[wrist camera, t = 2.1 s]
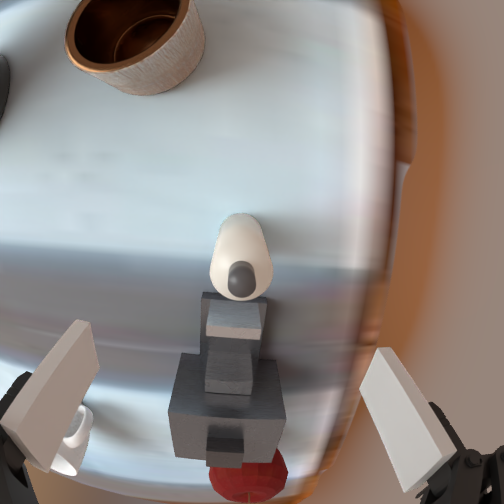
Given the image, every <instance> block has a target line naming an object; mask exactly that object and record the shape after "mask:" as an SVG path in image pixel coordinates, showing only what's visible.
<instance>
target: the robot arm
mask: <svg viewBox="0 0 504 504" xmlns="http://www.w3.org/2000/svg"><path fill="white" fill-rule="evenodd" d="M9 82H10V73H9V66H8V63H7V61H6V59H5V58H4V57H3V56H1V55H0V119H1V117H2V114H3V111H4V108H5V104H6V100H7V96H8V90H9ZM99 368H100V367H99V363H98V359H97V355H96V350H95V346H94V341H93V336H92V331H91V325H90V322H86V321H82V320H77V319H76V320H75V321H74V322H73V324H72V325H71V326H70V327H69V328H68V330H67V331H66V332H65V333H64V334H63V336H62V337H61V338H60V339H59V341H58V342H57V343H56V344H55V345H54V347H53V348H52V349H51V351H50V352H49V353H48V354H47V356H46V357H45V358H44V359H43V361H42V362H41V363H40V365H39V366H38V367H37V369H36V370H35V371H34V373H33V374H32V373H30V372H28V371H26V372H25V373H23V374H22V375H20V376H19V377H17V379H16V380H15V381H14V383H13V384H12V385H11V387H10V388H9V390H8V391H7V394H5V395H4V396H3V398H2V399H1V401H0V504H39V503H38V501H37V498H36V495H35V493H34V490H33V487H32V484H31V482H30V478H29V475H28V472H27V469H26V466H25V464H24V460H25V459H27V460H28V461H29V462H30V463H31V465H33V466H34V467H37V468H38V469H41V470H42V471H45V472H47V473H48V472H49V470H50V467H51V465H52V463H53V460H54V458H55V456H56V454H57V451H58V449H59V447H60V445H61V443H62V440H63V438H64V436H65V434H66V432H67V430H68V428H69V426H70V424H71V422H72V420H73V418H74V416H75V414H76V412H77V410H78V408H79V406H80V404H81V402H82V400H83V398H84V396H85V394H86V392H87V390H88V388H89V387H90V385H91V383H92V381H93V379H94V377H95V375H96V374H97V372H98V370H99ZM359 390H360V392H361V394H362V396H363V398H364V401H365V403H366V405H367V408H368V410H369V412H370V414H371V416H372V419H373V421H374V423H375V425H376V428H377V430H378V432H379V434H380V437H381V439H382V441H383V444H384V446H385V448H386V451H387V453H388V455H389V458H390V460H391V462H392V465H393V467H394V470H395V472H396V474H397V477H398V479H399V482H400V484H401V487H402V489H403V492H404V493H405V492H408V491H411V490H414V489H416V488H418V487H420V486H421V485H422V484H423V483H424V482H426V481H427V482H428V484H429V485H428V486H427V487H426V488H424V489H423V490H422V491H421V492H420V493H418V494H417V496H416V498H419V497H420V496H421V495H422V494H423V497H422V498H421V502H420V504H504V445H503V446H500V447H499V448H498V449H497V450H496V451H495V452H494V453H493V454H486V455H481V454H480V453H479V452H478V451H476V450H474V449H468V450H467V449H466V448H465V447H464V445H463V443H462V442H461V440H460V438H459V437H458V435H457V434H456V432H455V430H454V429H453V427H452V426H451V425H450V423H449V421H448V420H447V419H446V416H445V415H444V413H443V412H442V410H441V409H440V408H439V407H438V406H437V405H436V404H434V403H433V402H429V403H428V402H427V401H426V399H425V398H424V396H423V394H422V393H421V391H420V390H419V388H418V387H417V385H416V384H415V382H414V381H413V379H412V378H411V376H410V375H409V373H408V372H407V370H406V369H405V367H404V366H403V364H401V362H400V360H399V359H398V357H397V356H396V354H395V353H394V351H393V350H392V349H391V347H383V348H377V350H376V352H375V355H374V357H373V359H372V362H371V364H370V366H369V369H368V371H367V373H366V375H365V377H364V380H363V382H362V384H361V386H360V388H359ZM489 486H492V491H491V492H489V493H487V488H488V487H489Z"/></svg>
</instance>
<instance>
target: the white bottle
mask: <svg viewBox="0 0 504 504" xmlns="http://www.w3.org/2000/svg"><path fill="white" fill-rule="evenodd" d="M272 277H273V265H272V262H271V258H270V255H269V252H268V249H267V245H266V242H265V239H264V236H263V232H262V229H261V226H260V224H259V223H258V221H257V220H256V219H255V218H254V217H252V216H250V215H248V214H244V213H237V214H233V215H231V216H229V217H228V218H226V219H225V220H224V221H223V223H222V224H221V226H220V229H219V233H218V237H217V241H216V245H215V249H214V253H213V257H212V261H211V266H210V278H211V281H212V283H213V285H214V287H215V288H216V289H217V291H218V292H219V293H221V294H222V295H223V296H225V297H227V298H229V299H232V300H238V301H245V300H251V299H254V298H256V297H258V296H259V295H261V294H262V293H263V292H265V290H266V289H267V288H268V287H269V285H270V283H271V281H272Z"/></svg>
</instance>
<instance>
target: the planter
mask: <svg viewBox="0 0 504 504" xmlns="http://www.w3.org/2000/svg"><path fill="white" fill-rule="evenodd" d="M64 46H65V51H66V54H67V57H68V59H69V60H70V62H71V63H72V64H73V65H74V66H75V67H77V68H78V69H80V70H81V71H83V72H85V73H88V74H90V75H92V76H94V77H96V78H98V79H100V80H102V81H104V82H105V83H107V84H109V85H111V86H113V87H115V88H117V89H118V90H120V91H122V92H125V93H128V94H132V95H139V96H146V95H154V94H158V93H161V92H164V91H167V90H169V89H171V88H173V87H175V86H176V85H178V84H179V83H181V82H182V81H184V80H185V79H186V78H187V77H188V76H189V75H190V74H191V73H192V72H193V71H194V69H195V68H196V67H197V65H198V63H199V61H200V60H201V57H202V55H203V51H204V46H205V34H204V30H203V27H202V24H201V21H200V18H199V15H198V12H197V9H196V6H195V3H194V0H82V1H81V2H80V3H79V4H78V6H77V7H76V9H75V10H74V12H73V13H72V15H71V17H70V19H69V22H68V24H67V27H66V31H65V37H64Z"/></svg>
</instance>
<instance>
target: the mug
mask: <svg viewBox="0 0 504 504" xmlns="http://www.w3.org/2000/svg"><path fill="white" fill-rule="evenodd" d="M92 424H93V413H92V412H91V410H90V409H89V408H87V407H86V406H84V405H83V404H82V403H81V404H80V406H79V408H78V410H77V412H76V414H75V416H74V418H73V420H72V422H71V424H70V426H69V428H68V430H67V432H66V434H65V436H64V438H63V440H62V443H61V445H60V447H59V449H58V451H57V454H56V456H55V458H54V460H53V463H52V465H51V467H50V468H52V469H54V470H56V471H58V472H60V473H63V474H66V475H70V476H75V475H77V473H78V471H79V468H80V466H81V464H82V460H83V458H84V456H85V452H86V449H87V446H88V442H89V436H90V430H91V427H92Z"/></svg>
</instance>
